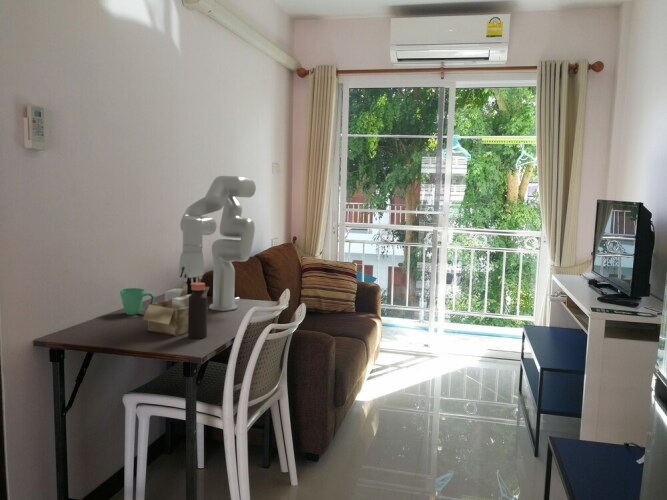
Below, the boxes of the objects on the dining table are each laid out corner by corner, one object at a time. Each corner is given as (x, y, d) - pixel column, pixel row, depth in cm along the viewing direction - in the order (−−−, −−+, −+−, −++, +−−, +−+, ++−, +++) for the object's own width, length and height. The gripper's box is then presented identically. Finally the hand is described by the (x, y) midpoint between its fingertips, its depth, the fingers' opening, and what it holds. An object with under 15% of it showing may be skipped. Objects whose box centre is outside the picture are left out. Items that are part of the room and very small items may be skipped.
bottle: (197, 333, 210) (198, 281, 208) (210, 336, 207) (211, 283, 205) (184, 336, 205) (184, 283, 202) (197, 340, 201) (198, 285, 199)
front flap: (143, 319, 207) (143, 319, 208) (168, 324, 202) (168, 324, 202) (149, 304, 209) (149, 304, 210) (174, 308, 204) (174, 309, 204)
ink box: (183, 320, 228) (183, 293, 227) (164, 319, 230) (164, 291, 228) (192, 316, 236) (192, 289, 235) (173, 314, 238) (174, 287, 237)
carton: (176, 321, 226) (176, 289, 224) (205, 327, 219) (206, 294, 217) (147, 330, 211) (147, 296, 210) (177, 336, 205) (177, 301, 203)
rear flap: (179, 297, 224) (180, 297, 224) (203, 301, 218) (204, 301, 219) (184, 283, 226) (185, 283, 226) (208, 286, 220) (209, 287, 221)
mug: (115, 315, 232) (115, 291, 231) (126, 310, 242) (126, 287, 241) (149, 317, 231) (150, 293, 230) (159, 312, 241) (159, 289, 240)
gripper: (197, 246, 227) (197, 290, 229) (171, 249, 214) (171, 296, 216) (212, 248, 224) (211, 293, 226) (186, 251, 211) (186, 298, 213)
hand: (191, 294), depth 221 cm, fingers closed
